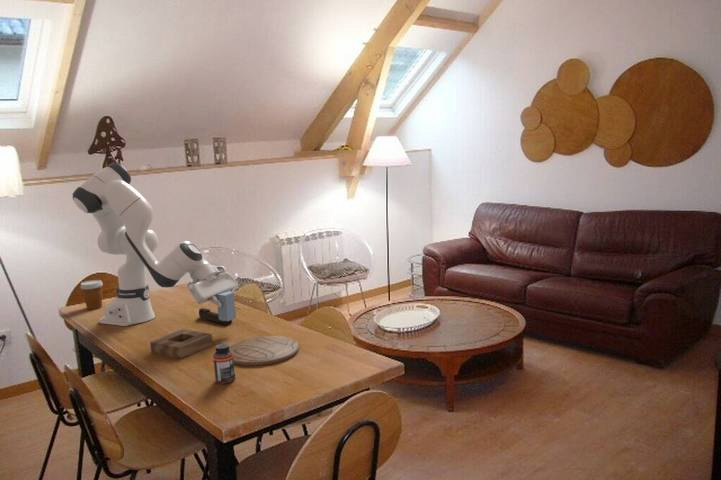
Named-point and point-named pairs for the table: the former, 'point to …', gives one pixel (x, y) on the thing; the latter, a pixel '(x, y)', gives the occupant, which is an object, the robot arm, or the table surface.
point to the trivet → (263, 350)
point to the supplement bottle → (223, 364)
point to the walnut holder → (181, 343)
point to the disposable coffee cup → (92, 293)
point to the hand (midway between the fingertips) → (227, 304)
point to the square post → (226, 306)
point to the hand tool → (211, 316)
